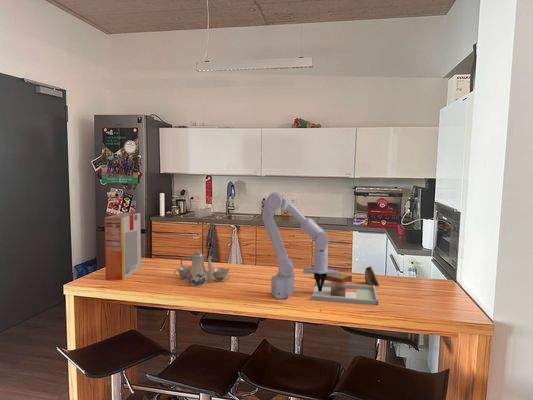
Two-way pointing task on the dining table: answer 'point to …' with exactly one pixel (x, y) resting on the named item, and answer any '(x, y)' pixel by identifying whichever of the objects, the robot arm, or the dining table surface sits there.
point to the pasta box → (122, 245)
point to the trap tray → (347, 294)
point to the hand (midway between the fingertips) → (320, 290)
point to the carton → (339, 278)
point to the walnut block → (338, 289)
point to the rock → (371, 276)
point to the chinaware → (200, 270)
